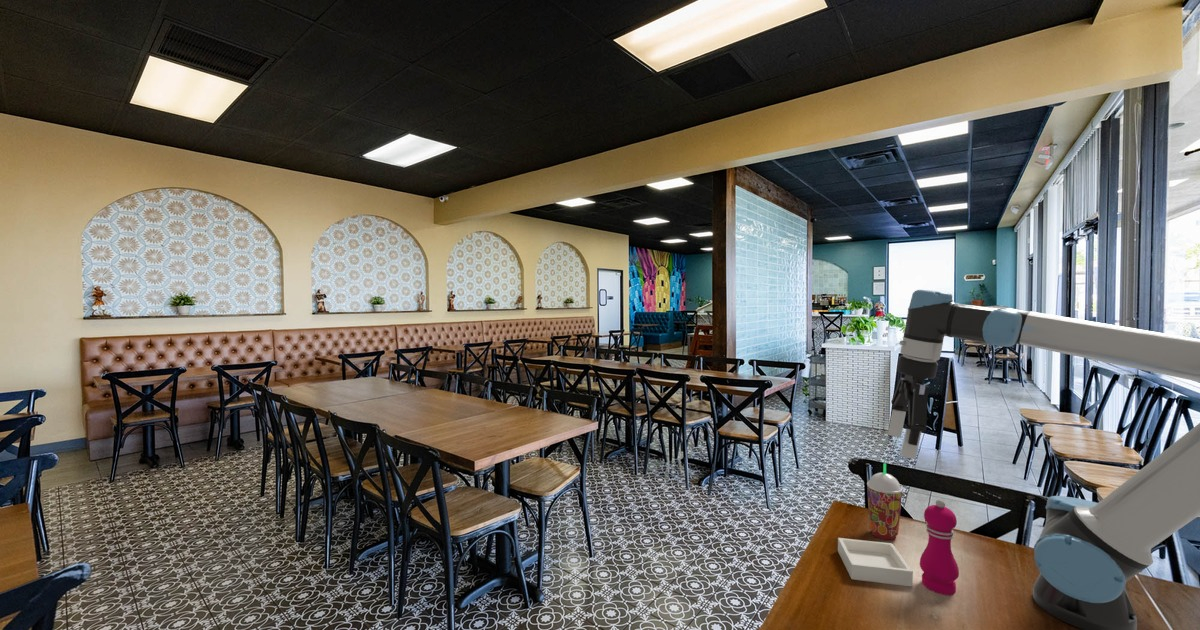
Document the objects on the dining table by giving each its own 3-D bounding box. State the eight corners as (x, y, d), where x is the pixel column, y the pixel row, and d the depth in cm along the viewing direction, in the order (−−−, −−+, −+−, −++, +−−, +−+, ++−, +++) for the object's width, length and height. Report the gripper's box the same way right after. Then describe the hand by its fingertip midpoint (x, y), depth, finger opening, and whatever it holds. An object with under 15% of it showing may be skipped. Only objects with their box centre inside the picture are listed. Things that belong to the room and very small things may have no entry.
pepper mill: (965, 598, 103) (967, 508, 102) (928, 594, 105) (930, 505, 104) (948, 579, 110) (950, 494, 110) (913, 575, 112) (915, 492, 111)
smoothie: (859, 529, 134) (860, 459, 133) (885, 526, 136) (886, 457, 135) (881, 544, 126) (883, 470, 125) (909, 541, 127) (910, 467, 127)
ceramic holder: (892, 557, 120) (892, 543, 120) (912, 586, 108) (912, 571, 107) (837, 551, 123) (838, 537, 123) (851, 579, 110) (851, 564, 110)
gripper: (888, 346, 121) (872, 425, 124) (914, 366, 98) (894, 463, 101) (922, 351, 118) (905, 431, 122) (957, 373, 95) (935, 472, 98)
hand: (900, 446), depth 111 cm, fingers open, 13 cm apart
